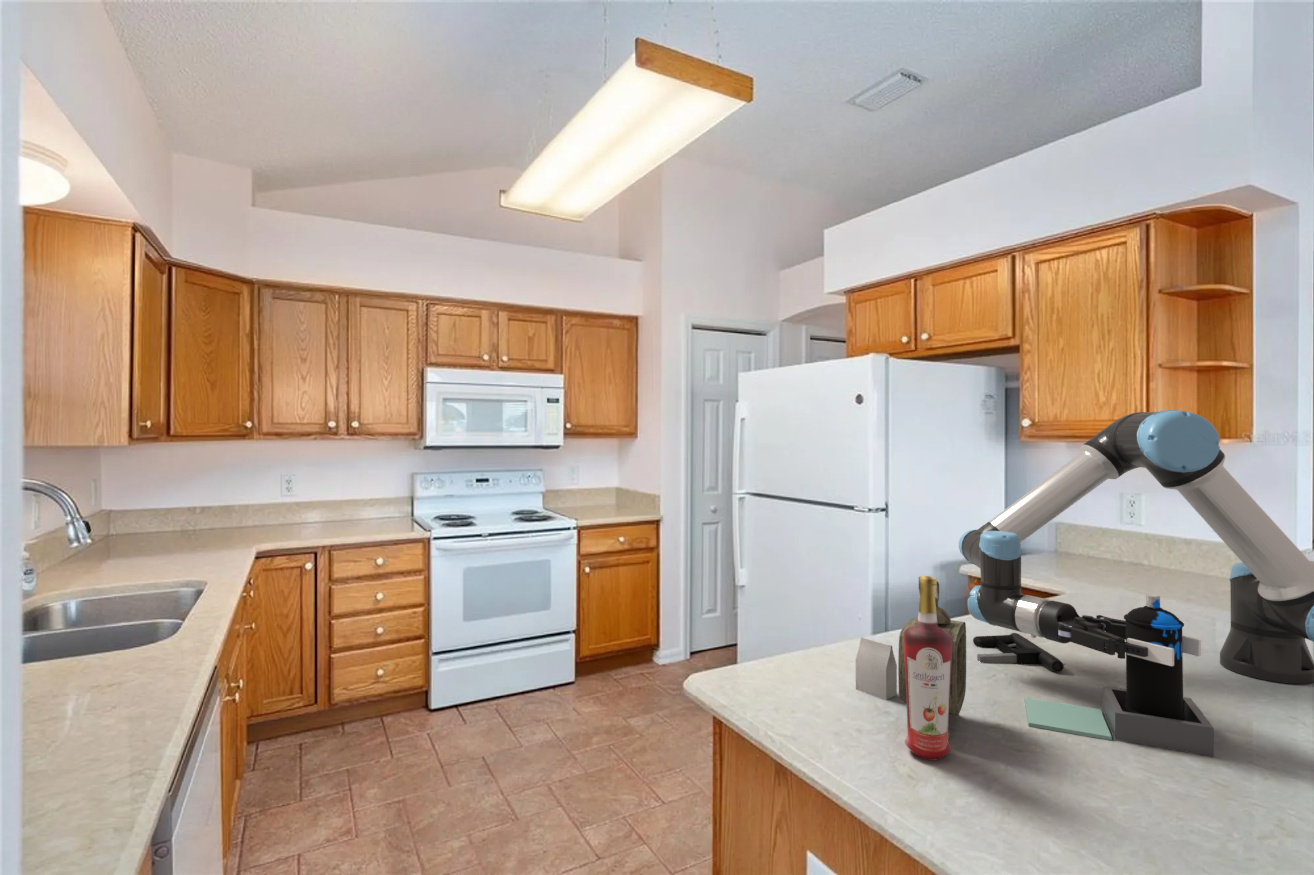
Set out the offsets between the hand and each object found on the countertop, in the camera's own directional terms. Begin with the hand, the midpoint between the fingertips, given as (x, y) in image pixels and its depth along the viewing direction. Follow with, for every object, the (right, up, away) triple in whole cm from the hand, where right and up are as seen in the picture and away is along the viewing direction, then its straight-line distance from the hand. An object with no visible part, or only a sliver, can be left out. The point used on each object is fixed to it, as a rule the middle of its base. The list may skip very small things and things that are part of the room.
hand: (1186, 652), depth 107 cm
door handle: (-7, -15, +41) cm, 45 cm away
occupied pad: (-14, -15, +9) cm, 22 cm away
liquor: (-44, -15, -3) cm, 46 cm away
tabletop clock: (-38, -15, +8) cm, 42 cm away
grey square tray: (-2, -15, +4) cm, 16 cm away
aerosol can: (-2, -12, +4) cm, 13 cm away
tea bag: (-44, -15, +22) cm, 51 cm away
